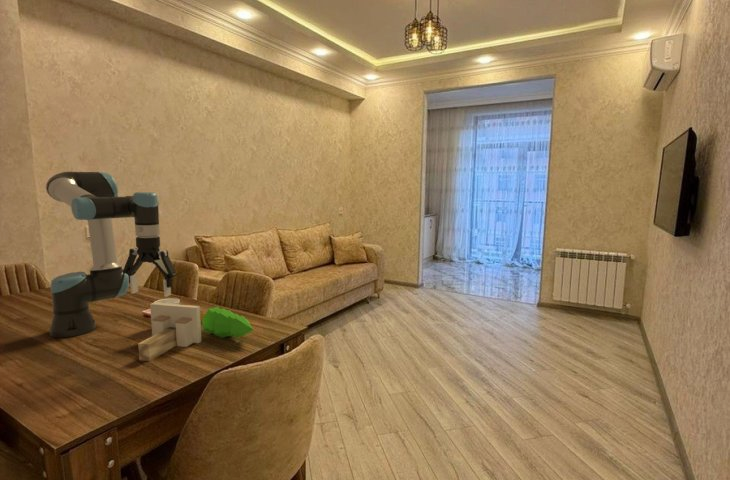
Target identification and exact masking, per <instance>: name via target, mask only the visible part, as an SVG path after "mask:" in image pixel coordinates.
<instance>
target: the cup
mask: <svg viewBox="0 0 730 480" xmlns="http://www.w3.org/2000/svg"><path fill="white" fill-rule="evenodd" d="M180 300H181V299H179V298H177V297H173V298H172V297H169V298H168V297H166V298H162V299H158V300H155V301H154V302H153V303H165V304H178V305H180V302H181V301H180Z"/></svg>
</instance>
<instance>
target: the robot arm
mask: <svg viewBox="0 0 730 480" xmlns="http://www.w3.org/2000/svg"><path fill="white" fill-rule="evenodd" d="M45 189H46V192H47V194H48V195H49V197H50V198H52V199H53V200H55V201H57V202H60V203H64V204H66V205H68V206H69V207H70V208H71V213H72V216H73V217H74V218H75V219H76V220H79V221H83V220H84V221H85V220H86V221H87V228H88V234H89V242H90V251H91V257H92V266H91V268H89V274H86V272H85V271H76V272H69V273H65V274H61V275H58V276H56V277H54V278H53V279H52V280H51V282H50V293H51V301H52V302H51V304H52V311H53V313H52V314H53V316H52V319H51V324H50V327H49V336H51V337H52V338H53V337H54V338H69V337H75V336H80V335H83V334H86V333H89V332H92V331H93V330H95V329H96V321H95V319H94V317H93V315H92V313H91V310H90V307H89V303H94V302H99V301H104V300H110V299H115V298H119V297H123V296H125V294H127V292H128V290H129V286H130V294H131V295H132V294H135V293H138V292H139V278H138V274H137V272H138V270H139V269H140V267H142V265H143V263H149V264H151V263H152V264H153V265H154V266H156V268H157V269H158V270H159V272H160V274H161V275H162V276H163V277H164V278H163V279H162V281H163V297H164V298H168V297H169V296H171V295H172V287H173V278H174V277H177V276H178V273H177V271H176V269H175V267H174V264H173V263H172V260H171V258H170V256H169V251H168V250H167V249H166V250H160V247H161V238H160V237H161V236H160V234H161V232H160V231H161V230H160V213H159V205H160V204H159V197H158V194H157V193H156V192H151V191H138V192H134V193H133V195H126V196H118V195H119V190H118V185H117V182H116V180H115V178H114V177H113V176H112V174H110V173H108V172H100V171H63V172H58V173H56V174H54V175H53V176H51V177H50V178H49V179H48V180H47V182H46V185H45ZM124 218H134V228H135V231H134V232H135V236H136V237H135V246H136V247H134V248H130V249H129V254H128V257H127V259H126V262H125V265H124V268H122V267H123V266H122V265H121V264H120V263H118V259H117V252H116V244H115V236H114V228H113V220H112V219H124ZM137 256H138V257H137Z"/></svg>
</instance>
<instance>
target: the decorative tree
mask: <svg viewBox="0 0 730 480" xmlns="http://www.w3.org/2000/svg"><path fill="white" fill-rule="evenodd" d="M200 321H201V324H202V330H203V331H204V332H206V333H208V334H209V335H210V334H213V335H214V336H217V337H220V338H221V339H224V338H226V337H232V336H233V337H234V338H236V339H237V338H238V339H239V338H241V337H242V336H246V335H247V334H249V333H250V332H252V331H254V327H252V325H251V324H250V321H249V320H248V319H247V318H246V317H245V316H243V315H239V314H237V313H234V312H232V311H231V310H229V309H225V308H224V307H222V308H220V307H219V306H215V307H211V308H208V309H207V311H204V312H201V313H200Z"/></svg>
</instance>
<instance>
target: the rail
mask: <svg viewBox="0 0 730 480" xmlns="http://www.w3.org/2000/svg"><path fill="white" fill-rule="evenodd" d="M137 345H138V355H139V356H138V358H139V361H142V362H143V361H145V362H151V361H153V360H155V359H156V358H158V357H159V356H160V355H162V354H164V353H166V352H168V351H170V350H171V349H173V348H174V347H176V346H177V339H176V328H174V327H169V328H167V329H165V330H163V331H161V332H160V333H158V334H156V335H154V336H152V335H151V336H150V337H148V338H146V339H145V340H142V341H141V342H138V344H137Z"/></svg>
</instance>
